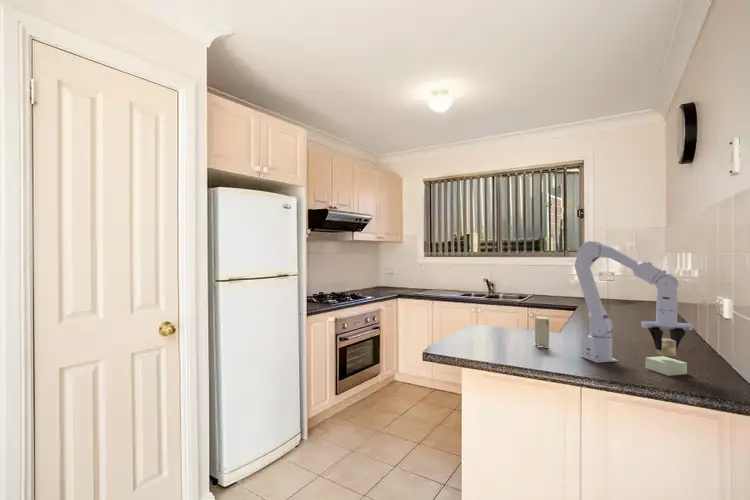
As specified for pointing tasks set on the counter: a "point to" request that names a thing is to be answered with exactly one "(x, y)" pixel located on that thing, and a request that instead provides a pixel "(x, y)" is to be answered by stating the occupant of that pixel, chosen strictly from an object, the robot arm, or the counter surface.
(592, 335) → the robot arm
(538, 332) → the skincare box
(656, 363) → the sage base block
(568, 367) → the counter surface
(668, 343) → the birch block
